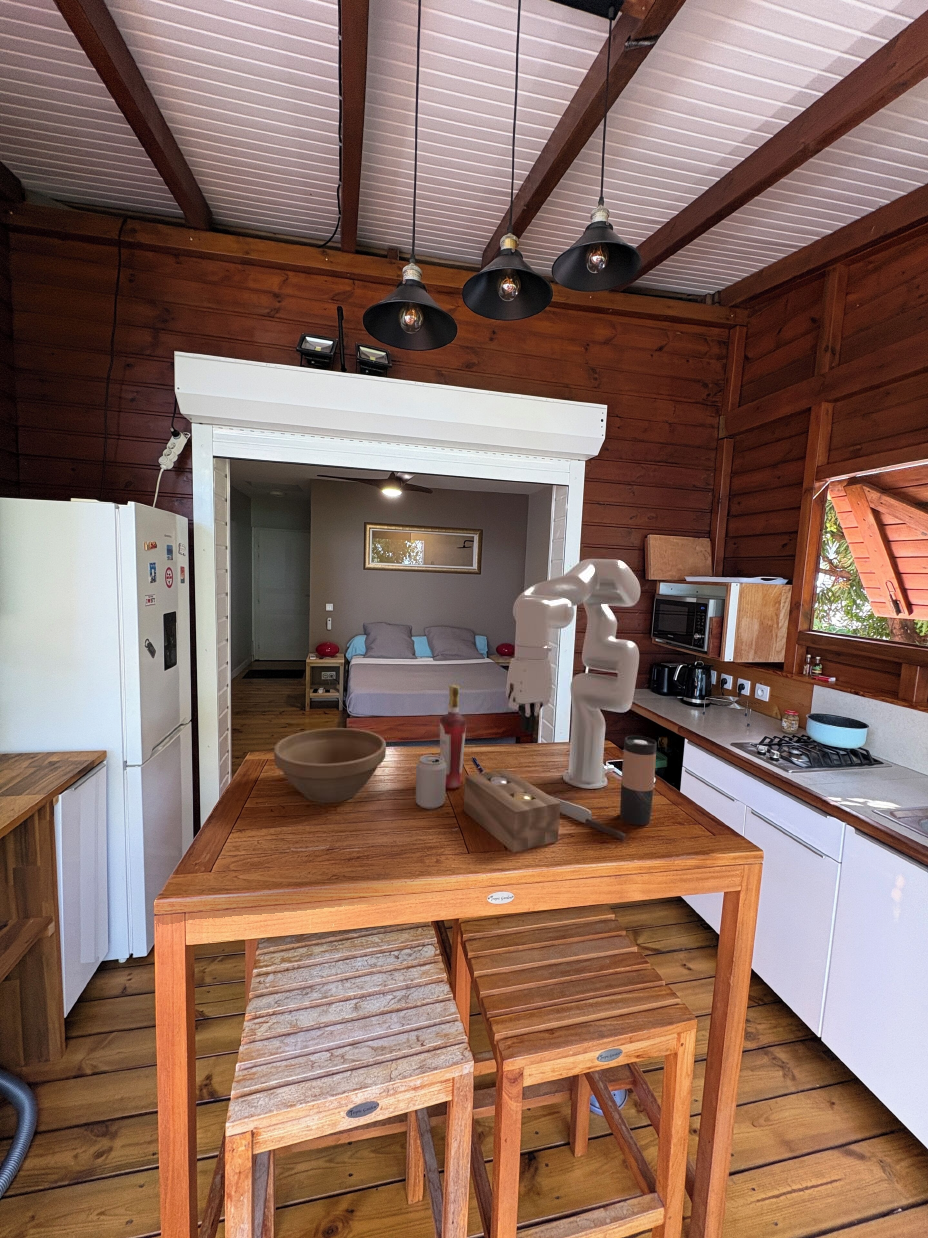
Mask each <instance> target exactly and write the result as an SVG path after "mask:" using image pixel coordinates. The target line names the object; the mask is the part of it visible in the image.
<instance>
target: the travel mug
mask: <svg viewBox="0 0 928 1238" xmlns="http://www.w3.org/2000/svg"><path fill="white" fill-rule="evenodd" d="M656 756H657V741H656V740H655V739H654V738H653V739H652V738H650V737H646V736H643V735H629V736H626V737H625V738H624V746H623V757H622V768H621V769H622V770H621V780H620V781H621V782H620V806H619V807H620V808H619V817H620V819H621V820H622V821H623V822H625V823H627V824H631V825H634V826H645V825H648V824H649V823H651V813H652V807H653V805H652V804H653V796H654V789H655V776H656V775H655V773H656V758H657V757H656Z"/></svg>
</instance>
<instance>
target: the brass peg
mask: <svg viewBox="0 0 928 1238" xmlns="http://www.w3.org/2000/svg"><path fill="white" fill-rule="evenodd" d="M514 799H516V800H517V801H519V802H524V801H529V800H531V795H530V794H528V793H524V792H518V793H515V794H514Z"/></svg>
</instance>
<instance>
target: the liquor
mask: <svg viewBox="0 0 928 1238" xmlns="http://www.w3.org/2000/svg"><path fill="white" fill-rule="evenodd" d="M448 690H449V702H448V710H447V713H446V714H443V716H440V718H439V749H440V752H439V756H441V757H443V758H444V762H445V763H446V784H445V790H456V789H458V788H460V787H461V786H462V784H463V782H464V781H463V779H462V776H463V764H464V762H463V761H464V753H465V752H464V751H465V742H466V741H465V740H466V730H467V718H466V717H464V716H463V715H462V714H460V712H459V711H460V710H459V696H460V686H458V685H449V689H448Z"/></svg>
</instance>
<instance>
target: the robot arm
mask: <svg viewBox="0 0 928 1238" xmlns="http://www.w3.org/2000/svg"><path fill="white" fill-rule="evenodd" d="M640 596H641V585H640V581H639V580H638V577H636V575H635V574H634V572H633V571H632V569H631V568H630V567H629V566H628V565H627V564H626V563H625V562H624V561H622V560H619V559H611V558H610V559H607V558H606V559H605V558H587V559H584V560H581V561H580V562H578V563H577V564H576V565H575V566H573V567H572V568H571V569H570V570H569V571H567V572H566V573H565V574H563V575H561V576H558V577H555V578H551V579H548V580H545V581H541V582H539V583H538V582H537V583H536V584H533V585H531V586H529V587H528V588H526V589H525V590H524V591H523V592H521V593H520V594H519V595H518V597H517V598H516V599H515V602H514V603H513V608H512V615H513V617H514V619H515V642H514V644H515V646H514V657H513V658H511V660H510V663H509V667H508V672H507V677H506V678H507V679H506V687H505V698H506V700H508V701H509V702H508V705H507V706H508V708H510V709H511V710H517V711H518V712H519V714H520V715H521V717H520V720H521V721H520V728H521V729H520V730H521V731H522V732H524V733H526V734H527V735H528V734H535V733H536V726H537V725H536V723H537V716H538V715H539V712H540V710H541V709H542V707H546V706H548V705H549V704H550V699H551V698H552V691H553V675H552V674H553V672H552V665H551V664H552V663H551V660H550V658H549V653H551V652H552V647H551V646H550V629H553V630H562V629H565V628H567V627H568V626H569V625H570V624H571V623H572V622H573V619H574V615H575V606H580V605H581V604H583V607H584V609H585V612H586V616H587V617H586V618H587V622H586V623H587V624H586V630H585V636H584V641H583V647H582V653H581V662H582V664H583V666H585V667H586V668H588V669H592V670H595V671H596V670H597V671H602V672H603V671H604V672H609V673H610V672H611V673H616V675H617V677H616V676H612V675H611V676H610V675H605V674H598V673H591V672H582V673H579V674H576V675H575V676H574V677H573V678H572V679H571V683H570V688H569V690H570V692H569V693H570V701H571V727H570V729H571V731H570V745H569V759H568V760H569V762H568V770H565V771H564V772H563V774H562V779H563V781H564V782H566V784H569V785H571V786H574V787H576V788H580V789H591V790H593V789H597V790H598V789H601V788H604V787H606V786H607V785H608V778H607V776H606V774H607V773H610V772H611V773H612V772H614V771H615V767H614V765H613V764H609V765H605V764H604V752H605V751H604V750H605V737H606V735H605V734H606V721H605V717H604V715H603V713H602V712H601V710H604V711H609V712H610V711H611V712H614V713H615V712H616V713H625V712H628V711H629V710H630V709H631V707H632V704H633V701H634V695H635V690H636V684H637V683H636V682H637V678H638V677H637V676H638V670H639V664H640V663H639V662H640V651H639V648H638V645H637V644H636V643H635V642H633V641H632V640H628V639H619V638H616V635H617V629H618V621H617V618H616V616H615V614H614V613H613V611H612V610H611V609H610V607H609V606H612V607H614V606H615V607H626V608H627V607H629V608H630V607H634V606H635V605H636V604H637V603H638V601H639V600H640Z"/></svg>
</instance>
